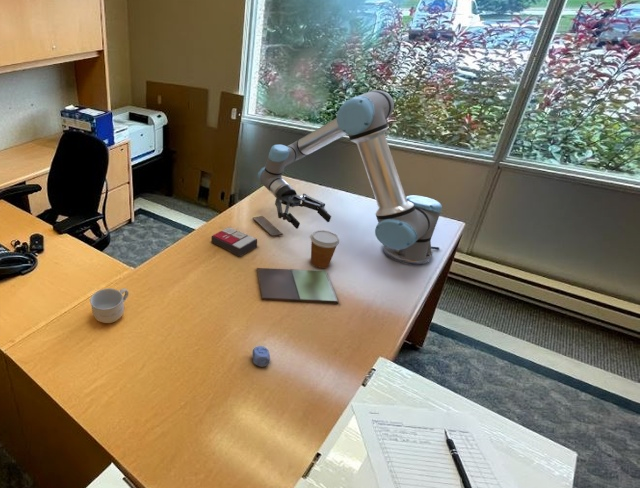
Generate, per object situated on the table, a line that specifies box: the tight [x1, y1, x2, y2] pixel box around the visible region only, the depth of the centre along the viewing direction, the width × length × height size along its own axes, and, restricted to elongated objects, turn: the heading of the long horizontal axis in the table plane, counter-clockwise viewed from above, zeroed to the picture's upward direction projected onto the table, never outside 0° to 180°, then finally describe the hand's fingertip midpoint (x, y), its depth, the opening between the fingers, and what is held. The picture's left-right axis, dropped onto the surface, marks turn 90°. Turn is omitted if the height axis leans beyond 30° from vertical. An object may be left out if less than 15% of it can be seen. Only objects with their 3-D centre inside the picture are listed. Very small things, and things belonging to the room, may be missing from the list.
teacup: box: [89, 288, 130, 324], centre depth 137 cm, size 14×11×8 cm
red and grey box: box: [211, 226, 258, 257], centre depth 170 cm, size 11×4×15 cm
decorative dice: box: [251, 345, 271, 368], centre depth 117 cm, size 4×4×4 cm
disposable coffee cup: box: [310, 229, 340, 269], centre depth 153 cm, size 10×10×12 cm
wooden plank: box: [252, 215, 283, 237], centre depth 181 cm, size 17×1×5 cm
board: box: [256, 267, 339, 305], centre depth 145 cm, size 24×17×1 cm
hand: (314, 222), depth 157 cm, fingers open, 13 cm apart
